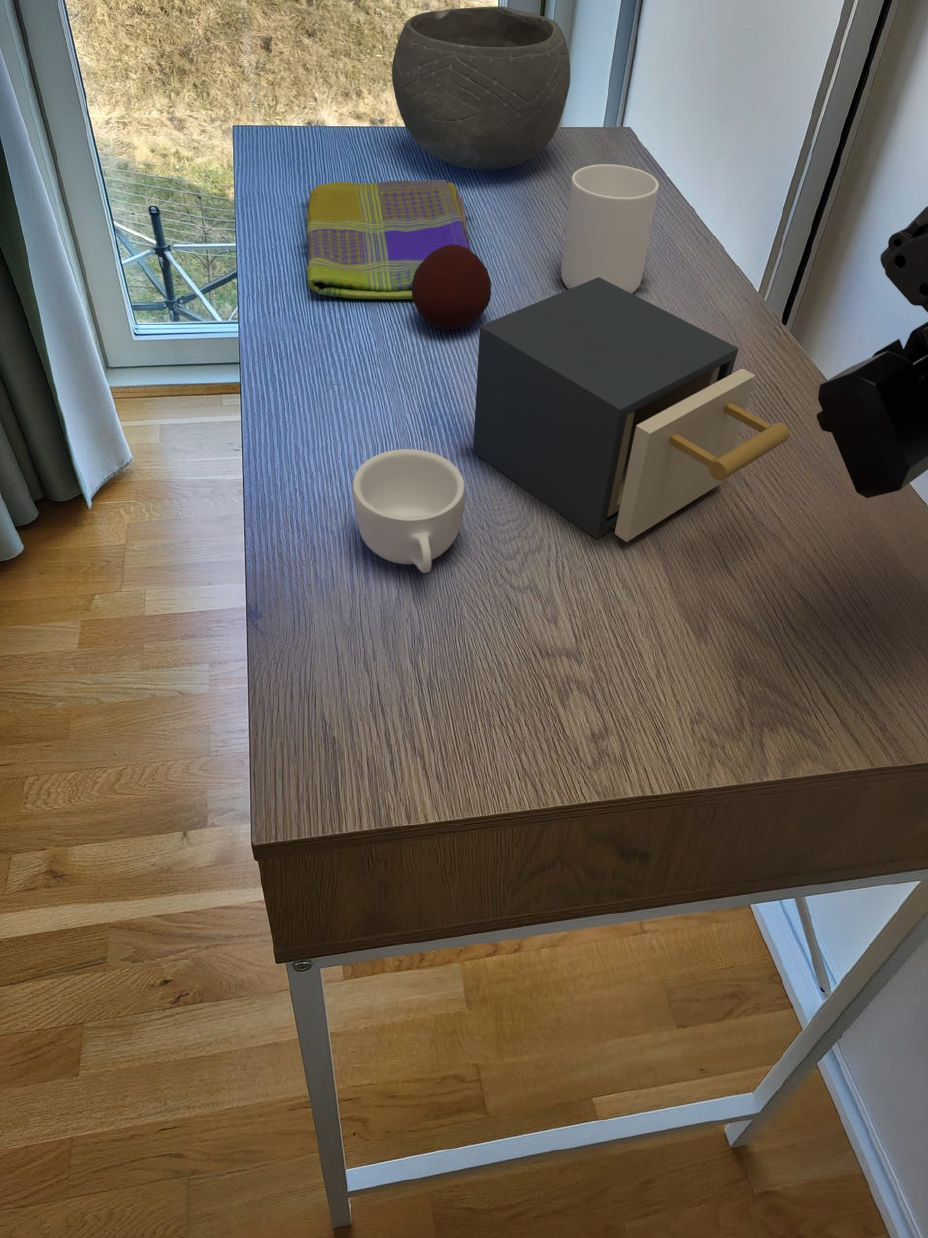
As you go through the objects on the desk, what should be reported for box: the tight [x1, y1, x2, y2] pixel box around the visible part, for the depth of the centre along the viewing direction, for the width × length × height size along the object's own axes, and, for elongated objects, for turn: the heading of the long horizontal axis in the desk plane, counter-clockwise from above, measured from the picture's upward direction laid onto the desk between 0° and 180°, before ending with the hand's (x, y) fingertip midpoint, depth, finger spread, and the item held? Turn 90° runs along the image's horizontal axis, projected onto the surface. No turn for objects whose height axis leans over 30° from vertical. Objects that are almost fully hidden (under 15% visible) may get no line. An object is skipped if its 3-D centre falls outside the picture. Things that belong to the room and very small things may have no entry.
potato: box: [411, 244, 492, 330], centre depth 88 cm, size 7×8×7 cm
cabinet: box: [472, 277, 739, 540], centre depth 72 cm, size 14×13×11 cm
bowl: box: [391, 5, 572, 171], centre depth 114 cm, size 21×21×15 cm
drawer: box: [607, 367, 791, 543], centre depth 69 cm, size 17×11×9 cm, turn 41°
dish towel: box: [306, 179, 471, 300], centre depth 100 cm, size 18×24×3 cm
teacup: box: [351, 448, 466, 574], centre depth 65 cm, size 10×8×5 cm
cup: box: [560, 163, 660, 294], centre depth 95 cm, size 8×12×10 cm
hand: (822, 420), depth 58 cm, fingers closed
